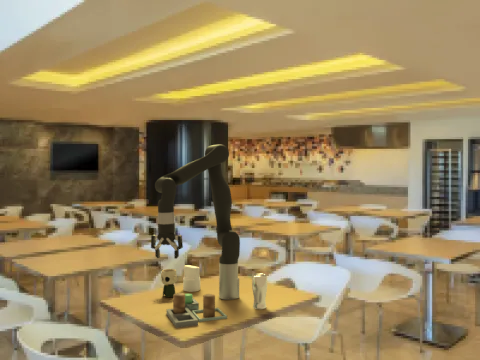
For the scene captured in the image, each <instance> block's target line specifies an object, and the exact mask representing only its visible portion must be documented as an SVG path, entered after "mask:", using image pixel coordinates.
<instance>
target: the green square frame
mask: <svg viewBox="0 0 480 360" xmlns="http://www.w3.org/2000/svg"><path fill="white" fill-rule="evenodd" d="M191 312H192V313H193V315H194V316H195V317H196V318H197V319H198V323H201V322H209V321H210V322H211V321H217V320H226V319H228V315H227V314H226V313H224V312H223V310H221V309H220V308H219V307H215V312H218V313H219V314H220V315H221V316H214V317H210V318H206V317H203V318H200V316H199V315H198V314H199V313H203V308H202V309H199V310H193V311H191Z"/></svg>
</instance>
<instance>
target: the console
mask: <svg viewBox="0 0 480 360" xmlns="http://www.w3.org/2000/svg"><path fill="white" fill-rule="evenodd" d="M199 306H200V303H199V302H198V300H196V299H195V298H194V297H193V303H187V304H185V307H187V308H188V309H189V310H190V311H191V312H192V311H193V310H200V307H199Z"/></svg>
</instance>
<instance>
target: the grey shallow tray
mask: <svg viewBox="0 0 480 360" xmlns="http://www.w3.org/2000/svg"><path fill="white" fill-rule="evenodd" d="M165 312H166V314H165V315H166V316H167V317H168V318H169V320H170V321H171V322H172V324H173V326H174V327H175V329H176V328H185V327H193V326H199V321H198V319H197V318H196V317H195V316H194V315H193V313H192V311H190V310H189V309H188V308H187V307H185V313H180V314H173V308H167V309H166V311H165Z"/></svg>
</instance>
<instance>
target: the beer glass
mask: <svg viewBox="0 0 480 360" xmlns="http://www.w3.org/2000/svg"><path fill="white" fill-rule="evenodd" d="M251 280H252V281H251V286H252V294H253V304H252V308H253V309H255V310H265V309H266V308H267V303H266V299H267V298H266V297H267V291H268V274H266V273H260V272H259V273H253V274H252V278H251Z"/></svg>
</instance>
